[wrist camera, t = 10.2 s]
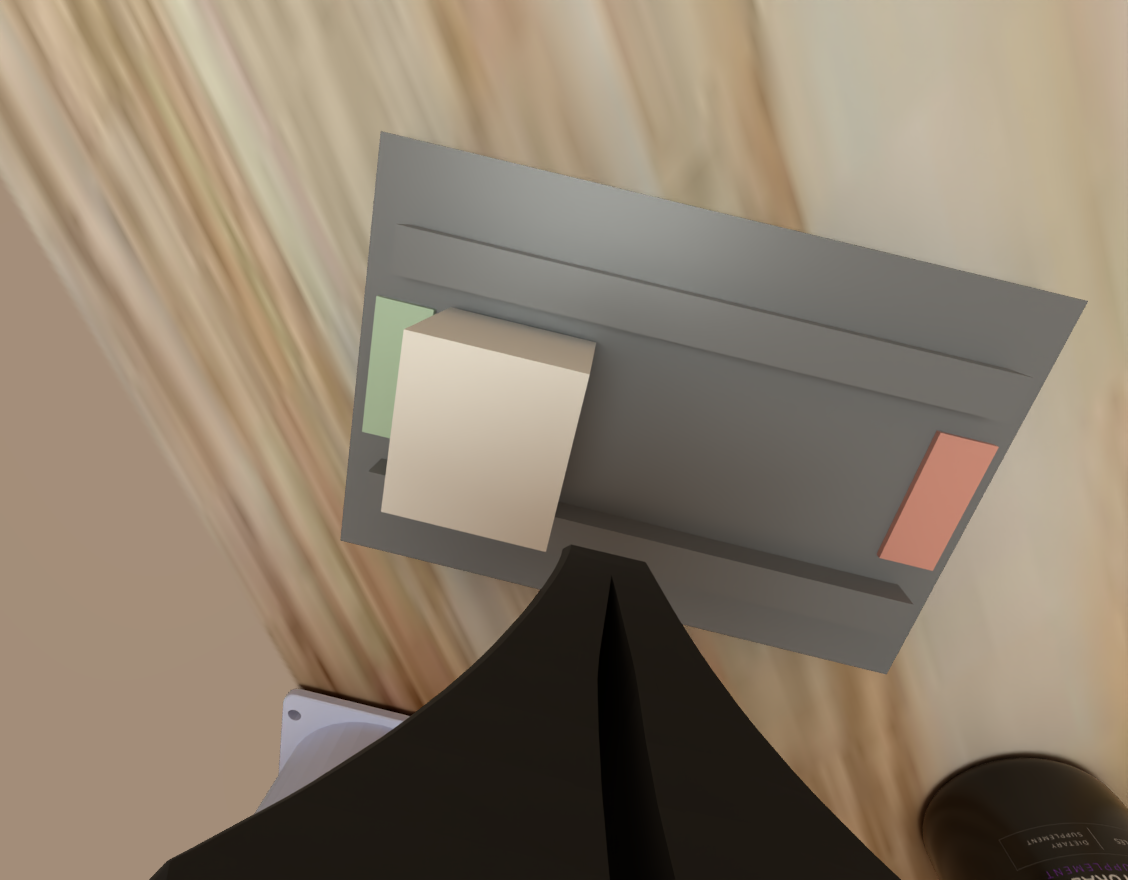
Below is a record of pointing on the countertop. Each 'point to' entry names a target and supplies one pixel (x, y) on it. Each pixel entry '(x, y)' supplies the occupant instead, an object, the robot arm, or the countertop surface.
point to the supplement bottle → (1026, 824)
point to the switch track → (712, 394)
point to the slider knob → (484, 425)
